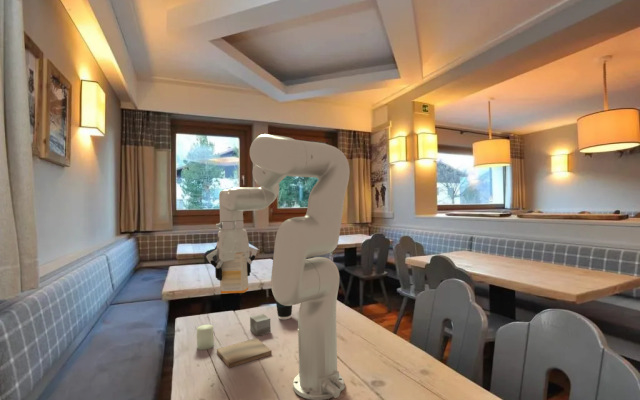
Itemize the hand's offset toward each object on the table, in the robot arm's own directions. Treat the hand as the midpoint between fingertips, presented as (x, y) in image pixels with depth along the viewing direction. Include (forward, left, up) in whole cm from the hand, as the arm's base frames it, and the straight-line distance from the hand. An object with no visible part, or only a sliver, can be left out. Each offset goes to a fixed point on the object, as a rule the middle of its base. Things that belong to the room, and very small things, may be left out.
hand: (233, 277), depth 109 cm
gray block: (+1, -9, -21) cm, 23 cm away
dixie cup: (+8, -23, -21) cm, 32 cm away
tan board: (-12, +2, -21) cm, 24 cm away
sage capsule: (+1, +10, -21) cm, 23 cm away
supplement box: (0, 0, -5) cm, 5 cm away
